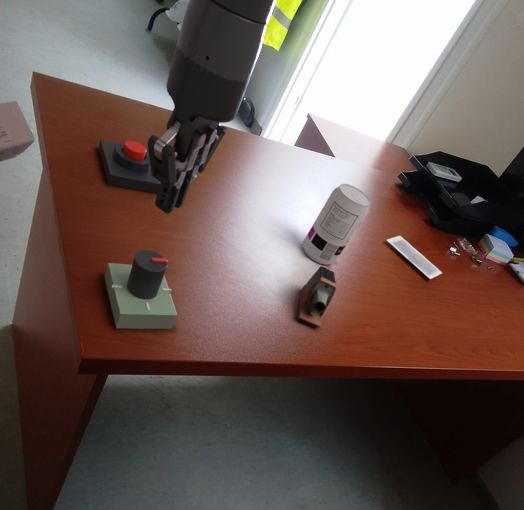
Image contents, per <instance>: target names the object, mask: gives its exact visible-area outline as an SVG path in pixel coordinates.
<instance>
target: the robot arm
mask: <svg viewBox="0 0 524 510" xmlns="http://www.w3.org/2000/svg"><path fill="white" fill-rule="evenodd" d="M276 2H277V0H189V1H188V3H187V6H186V9H185V12H184V15H183V19H182V22H181V26H180V30H179V34H178V38H177V42H176V45H175V50H174V54H173V57H172V60H171V65H170V69H169V73H168V75H167V76H168V77H167V81H166V86H165V87H166V92H167V93H168V95H169V97H170V98H171V101H172V102H173V105H174V107H173V110H172V112H171V114H170V116H169V118H168V119H167V123H166V132H165V133H164V134H162V136H161V137H160V138H159V137H158V136H156V135H155V134H152V135H151V136H150V137H149V138H148V140H147V150H148V151H149V159H150V167H151V174H152V176H153V177H154V178H156V179H157V180H159V181H160V182H161V184H160V187H159V190H158V194H157V193H156V197H155V201H154V204H155V207H156V208H158V209H159V210H160V211H162V212H163V213H165V214H168V215H170V214H171V213H172V212H173V211H174V210H175V208H176V209H180V208H182V207H183V205H184V203H185V200H186V197H187V194H188V191H189V189H190V186H191V182H193V181H195V180H196V178H197V175H198V173H199V174H202V173H203V172H204V170H206V167H207V166H208V164H209V162H210V161H211V159H212V157H213V155H214V154H215V152H216V150H217V148H218V147H219V145H220V144H221V142H222V139H223V138H224V136H226V133H227V127H225V126H223V125H222V124H225V123H230V122H232V121H233V120H235V118H236V117H237V114H238V112H239V109H240V106H241V105H242V101H243V98H244V96H245V93H246V91H247V88H248V85H249V82H250V81H251V77H252V75H253V72H254V70H255V67H256V63H257V61H258V58H259V56H260V53H261V49H262V46H263V42H264V38H265V33H266V30H267V26H268V23H269V21H270V17H271V15H272V12H273V10H274V7H275V5H276Z"/></svg>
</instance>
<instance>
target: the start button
mask: <svg viewBox="0 0 524 510" xmlns="http://www.w3.org/2000/svg"><path fill="white" fill-rule="evenodd" d="M124 143H125V144H124V149H123V153H124V154H125V155H126V156H128V157H130V158H132V159H135V160H144V158H145V154H146V150H147V148H146V146H145V145H143V144H142V143H141V142H138V141H135V140H130V139H129V140H126V141H124Z"/></svg>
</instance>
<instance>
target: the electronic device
mask: <svg viewBox="0 0 524 510" xmlns="http://www.w3.org/2000/svg"><path fill="white" fill-rule="evenodd" d="M335 275H336V274H335V272H334V271H333V270H331V269H328V268H327V267H324V266H323V265H321V266H319V267H318V269H317V270H316V271H315V273H313V275H312V276H311V277H310V279H308V280H307V282H306V283H305V284H304V285H303V286H302V288H301V289H300V295H299V301H298V311H297V312H298V313H297V317H296V318H297V320H298V321H299V322H301V323H303V324H306V325H308V326H310V327H312V328H314V329H316V328H321V327H322V321H323V316H324V313H325V312H326V310H327V308H328V307H329V305H330V303H331V302H332V300H333V297H334V296H335V293H336V291H337V282H336V277H335Z"/></svg>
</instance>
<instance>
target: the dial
mask: <svg viewBox="0 0 524 510" xmlns="http://www.w3.org/2000/svg"><path fill="white" fill-rule="evenodd" d="M131 265H132V268H131V271H130V275H129V279H128V282H127V288H128V290H129V292H130V293H131V294H132V295H134V296H136V297H138V298H141V299H152V298H154V297H156V296H157V294H158V291H159V288H160V285H161V283H162V280H163V277H164V276H165V274H166V271H167V268H168V259H167V258H165V257H164V256H163V255H162V254H160V253H159V252H156V251H154V250H149V249H142V250H139V251H137V252H136V253H135V255H134V257H133V261H132V264H131Z"/></svg>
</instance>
